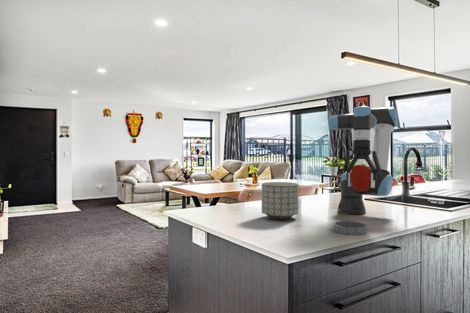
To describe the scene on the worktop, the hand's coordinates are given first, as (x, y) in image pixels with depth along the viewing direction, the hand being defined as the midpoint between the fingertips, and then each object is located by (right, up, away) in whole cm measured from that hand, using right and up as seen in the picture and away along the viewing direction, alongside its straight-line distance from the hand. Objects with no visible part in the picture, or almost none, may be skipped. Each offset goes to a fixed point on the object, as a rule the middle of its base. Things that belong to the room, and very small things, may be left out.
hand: (361, 186), depth 159 cm
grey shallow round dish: (-9, -18, -11) cm, 23 cm away
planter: (-36, -18, +17) cm, 44 cm away
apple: (0, -2, 0) cm, 2 cm away
